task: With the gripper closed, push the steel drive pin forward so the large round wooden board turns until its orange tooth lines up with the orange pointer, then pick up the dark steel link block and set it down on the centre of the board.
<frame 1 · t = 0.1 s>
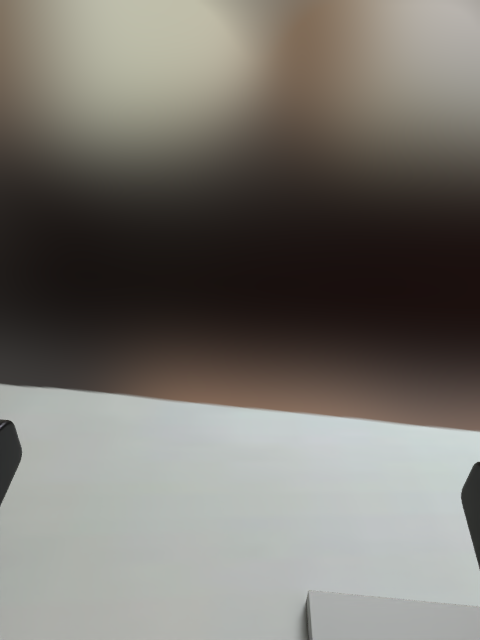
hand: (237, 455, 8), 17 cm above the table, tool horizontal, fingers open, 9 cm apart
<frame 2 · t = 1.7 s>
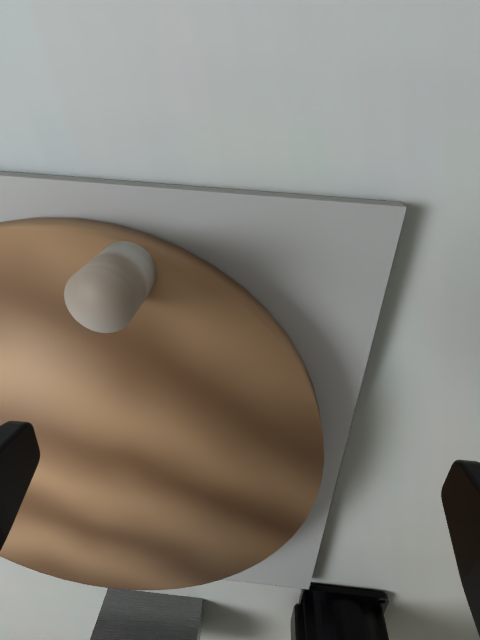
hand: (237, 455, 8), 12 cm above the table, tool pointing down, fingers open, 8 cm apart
steel link block: (156, 604, 34), on the table
round wooden board: (85, 464, 21), point 4 cm above the table, hinge at 0.0°
base plate: (110, 418, 24), on the table
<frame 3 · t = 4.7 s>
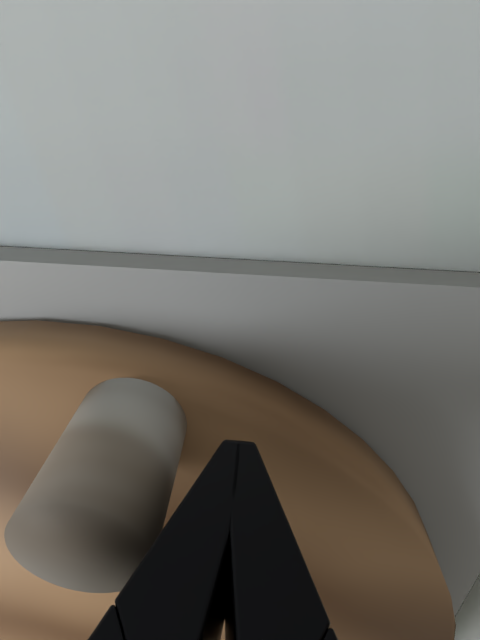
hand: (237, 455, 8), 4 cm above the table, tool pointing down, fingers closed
base plate: (120, 559, 17), on the table
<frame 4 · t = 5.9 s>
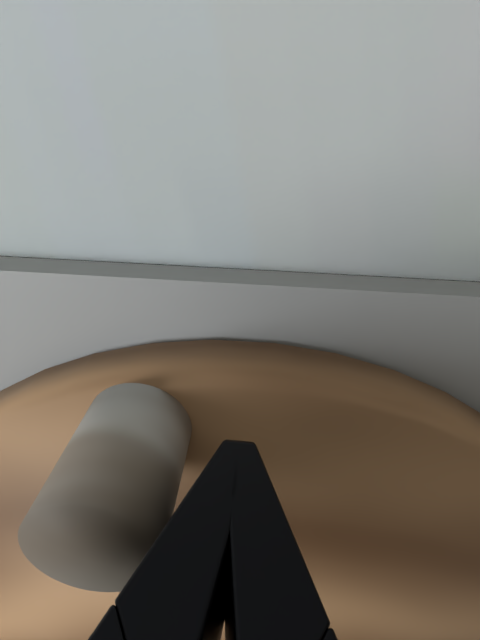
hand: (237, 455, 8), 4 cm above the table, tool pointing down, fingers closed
base plate: (235, 572, 17), on the table
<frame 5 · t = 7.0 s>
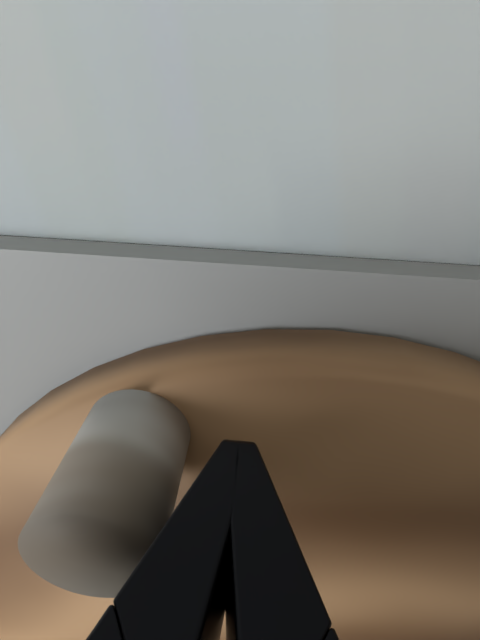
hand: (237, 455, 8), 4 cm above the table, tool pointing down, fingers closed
base plate: (283, 566, 17), on the table
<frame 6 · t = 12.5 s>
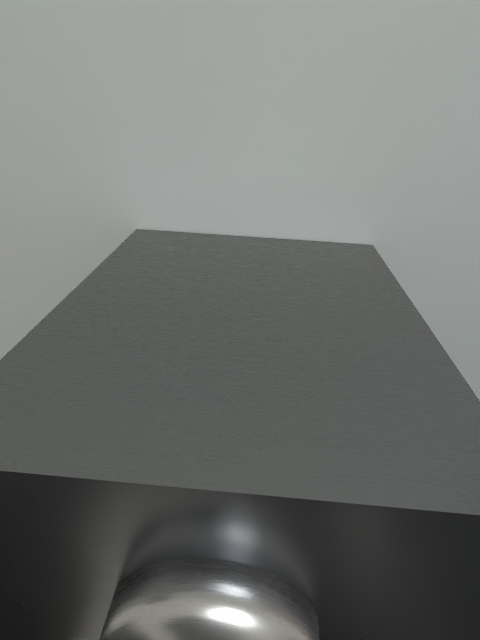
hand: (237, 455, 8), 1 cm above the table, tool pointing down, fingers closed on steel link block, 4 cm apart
steel link block: (241, 415, 9), on the table, touching gripper
when the fingers open (6 cm above the table, at t = 17.2 s): steel link block drops 1 cm, resting on round wooden board.
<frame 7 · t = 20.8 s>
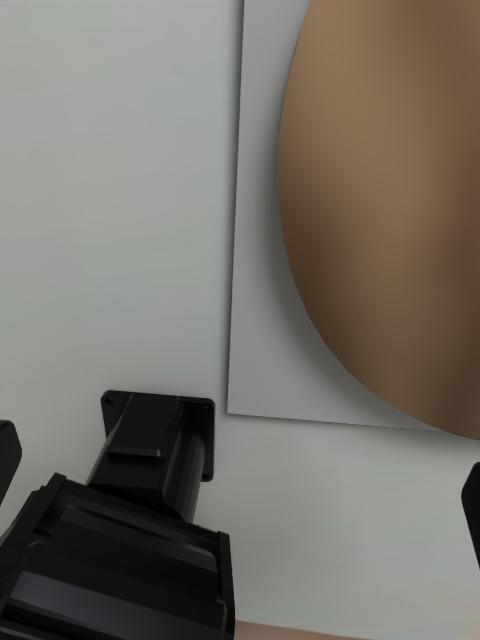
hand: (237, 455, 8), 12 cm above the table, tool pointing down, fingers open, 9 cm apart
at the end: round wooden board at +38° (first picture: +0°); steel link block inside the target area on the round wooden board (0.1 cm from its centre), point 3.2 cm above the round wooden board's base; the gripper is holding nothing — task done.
